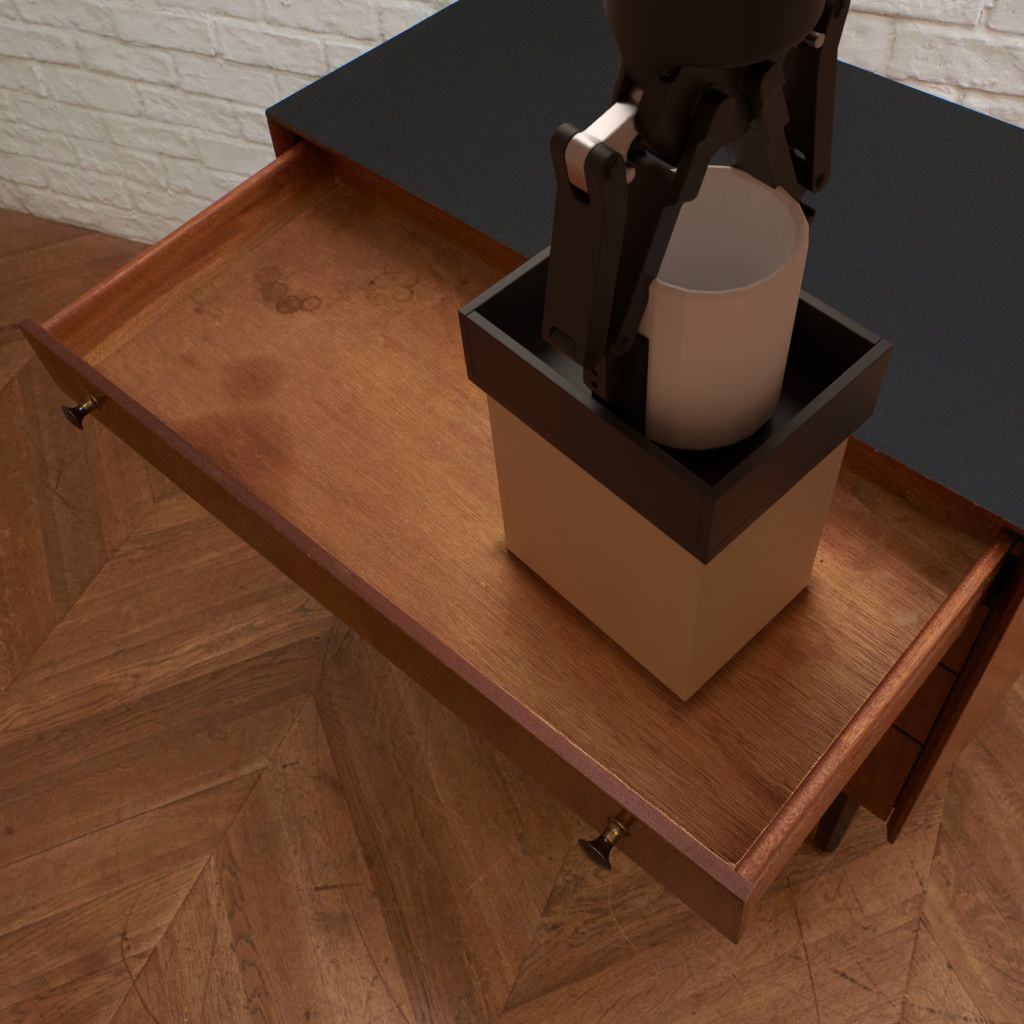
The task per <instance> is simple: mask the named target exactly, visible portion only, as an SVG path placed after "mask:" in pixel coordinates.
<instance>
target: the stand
mask: <svg viewBox="0 0 1024 1024" xmlns="http://www.w3.org/2000/svg"><path fill="white" fill-rule="evenodd" d="M485 394H486V393H485ZM486 402H487V410H488V416H489V417H488V418H489V424H490V431H491V438H492V439H491V440H492V447H493V455H494V462H495V463H494V464H495V470H496V476H497V477H496V478H497V485H498V494H499V499H500V505H501V506H500V507H501V514H502V522H503V531H504V537H505V546H506V549H507V550H509V551H510V552H511V553H512V554H513V555H514V556H515V557H517V558H518V559H519V560H520V561H521V562H523V563H524V564H525V565H526V566H527V567H528V568H529V569H530V570H532V571H533V572H534V573H535V574H536V575H538V577H540V578H541V579H542V580H543V581H544V582H545V583H547V584H548V585H549V586H550V587H551V588H552V589H553V590H555V592H557V593H558V594H559V595H560V596H561V597H563V598H564V599H565V600H566V601H568V603H569V604H571V605H572V606H573V607H575V608H576V609H577V610H578V611H579V612H580V613H582V615H584V616H585V617H586V618H587V619H588V620H589V621H591V622H592V623H593V624H594V625H595V626H597V628H598V629H600V630H601V631H602V632H603V633H605V635H607V636H608V637H609V638H610V639H611V640H612V641H614V642H615V643H616V644H617V645H618V646H620V647H621V648H622V649H623V650H624V651H625V652H626V653H628V654H629V655H630V656H631V657H632V659H635V661H636V662H638V663H639V664H640V665H641V666H643V667H644V668H645V669H646V670H647V671H648V672H650V673H651V674H652V676H654V677H655V678H656V679H657V680H659V681H660V682H661V683H662V684H663V685H665V687H667V688H668V689H669V690H670V691H671V692H672V693H674V694H675V695H676V696H677V697H678V698H679V699H680V700H682V701H683V702H684V703H685V702H687V701H688V700H690V698H691V697H692V696H693V695H694V694H695V693H696V692H697V691H699V689H700V688H702V687H703V686H704V685H705V684H706V683H707V682H708V681H709V680H710V679H711V678H712V677H713V676H714V675H715V674H716V673H717V672H718V671H719V670H720V669H721V668H722V667H723V666H725V665H726V663H728V662H729V661H730V660H731V659H732V658H733V657H734V656H735V655H736V654H737V653H738V652H739V651H741V650H742V648H743V647H744V646H746V645H747V644H748V643H749V642H750V641H751V640H752V639H753V638H754V637H756V635H757V634H758V633H759V632H760V631H761V630H762V629H763V628H764V627H765V626H767V625H768V624H769V622H771V621H772V620H773V619H774V618H775V617H776V616H777V615H778V614H779V613H780V612H781V611H782V610H783V609H784V608H785V607H786V606H788V604H790V603H791V602H792V601H793V600H794V599H795V598H796V597H797V596H798V595H799V594H800V593H801V592H802V591H803V590H804V589H806V587H807V586H808V585H809V582H810V578H811V574H812V571H813V568H814V563H815V559H816V556H817V554H818V550H819V546H820V542H821V538H822V535H823V532H824V527H825V525H826V520H827V517H828V514H829V510H830V506H831V504H832V503H831V502H832V499H833V495H834V492H835V488H836V484H837V480H838V477H839V474H840V470H841V467H842V463H843V459H844V455H845V452H846V449H847V445H848V441H849V438H850V436H849V437H848V438H847V439H845V440H844V441H843V442H842V443H841V444H840V445H839V446H838V447H837V448H836V449H834V450H833V451H832V452H831V453H830V454H829V455H828V456H827V457H826V458H824V459H823V460H822V461H821V462H820V463H819V464H818V465H817V466H816V467H814V468H813V469H812V470H811V471H810V472H809V473H808V474H807V475H806V476H805V477H803V478H802V479H801V480H800V481H799V482H798V483H797V484H796V485H795V486H793V487H792V488H791V489H790V490H789V491H788V492H787V493H786V494H785V495H783V496H782V497H781V498H780V499H779V500H778V501H777V502H776V503H775V504H773V505H772V506H771V507H770V508H769V509H768V510H767V511H766V512H765V513H764V514H762V515H761V516H760V517H759V518H758V519H757V520H756V521H755V522H754V523H752V524H751V525H750V526H749V527H748V528H747V529H746V530H745V531H744V532H742V533H741V534H740V535H739V536H738V537H737V538H736V539H735V540H734V541H733V542H731V543H730V544H729V545H728V546H727V547H726V548H725V549H724V550H723V551H721V552H720V553H719V554H718V555H717V556H716V557H715V558H714V559H713V560H711V561H710V562H709V563H708V564H707V565H704V564H703V563H701V562H700V561H699V560H698V559H696V558H695V557H694V556H693V555H691V554H690V553H689V552H687V551H686V550H685V549H684V548H682V547H681V546H680V545H679V544H677V543H676V542H675V541H673V540H672V539H671V538H670V537H668V536H667V535H666V534H665V533H663V532H662V531H661V530H659V529H658V528H657V527H656V526H654V525H653V524H652V523H651V522H649V521H648V520H647V519H645V518H644V517H643V516H642V515H640V514H639V513H638V512H637V511H635V510H634V509H633V508H631V507H630V506H629V505H628V504H626V503H625V502H624V501H623V500H621V499H620V498H619V497H617V496H616V495H615V494H614V493H612V492H611V491H610V490H609V489H607V488H606V487H605V486H603V485H602V484H601V483H600V482H598V481H597V480H596V479H595V478H593V477H592V476H591V475H589V474H588V473H587V472H586V471H584V470H583V469H582V468H581V467H579V466H578V465H577V464H575V463H574V462H573V461H572V460H570V459H569V458H568V457H567V456H565V455H564V454H563V453H561V452H560V451H559V450H558V449H556V448H555V447H554V446H553V445H551V444H550V443H549V442H548V441H546V440H545V439H544V438H542V437H541V436H540V435H539V434H537V433H536V432H535V431H534V430H532V429H531V428H530V427H528V426H527V425H526V424H525V423H523V422H522V421H521V420H520V419H518V418H517V417H516V416H514V415H513V414H512V413H511V412H509V411H508V410H507V409H506V408H504V407H503V406H502V405H500V404H499V403H498V402H497V401H495V400H494V399H493V398H492V397H490V396H489V395H488V394H486Z"/></svg>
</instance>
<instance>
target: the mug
mask: <svg viewBox="0 0 1024 1024" xmlns="http://www.w3.org/2000/svg"><path fill="white" fill-rule="evenodd" d="M670 170H671V171H673V172H675V173H676V170H677V168H671V169H670ZM809 231H810V227H809V224H808V222H807V220H806V217H805V215H804V213H803V211H802V209H801V207H800V205H799V203H798V202H796V201H795V200H794V199H793V198H792V197H791V196H790V195H789V194H788V193H787V192H786V191H785V190H784V189H783V188H782V187H781V186H779V185H778V186H777V187H776V189H773V188H771V187H769V186H768V185H766V184H764V183H763V182H761V181H759V180H757V179H756V178H754V177H752V176H751V175H750V174H748V173H746V172H745V171H743V170H741V169H737V168H733V167H731V166H729V165H711V164H709V165H708V168H707V171H706V174H705V176H704V179H703V182H702V185H701V188H700V190H699V193H698V195H697V197H696V199H694V200H693V201H691V202H686V203H684V204H683V205H682V207H681V210H680V213H679V215H678V218H677V221H676V224H675V227H674V230H673V232H672V235H671V238H670V241H669V244H668V247H667V249H666V252H665V255H664V258H663V261H662V264H661V266H660V269H659V272H658V275H657V278H656V279H654V280H653V281H652V283H651V285H650V286H649V301H648V303H647V306H646V309H645V312H644V315H643V318H642V320H641V323H640V326H639V329H638V333H640V334H641V335H643V336H644V337H646V338H647V339H648V340H649V354H648V376H647V399H646V421H645V437H646V438H647V439H648V440H651V441H654V442H656V443H659V444H662V445H665V446H668V447H671V448H674V449H686V450H699V451H703V450H709V449H715V448H721V447H727V446H730V445H732V444H734V443H736V442H738V441H741V440H743V439H745V438H747V437H749V436H751V435H752V434H753V433H755V432H756V431H757V430H758V429H759V428H760V427H761V426H762V425H763V424H764V423H765V422H766V421H767V420H768V419H770V417H771V415H772V413H773V411H774V409H775V407H776V405H777V403H778V401H779V398H780V393H781V388H782V383H783V377H784V372H785V367H786V362H787V356H788V351H789V346H790V341H791V335H792V330H793V325H794V320H795V314H796V309H797V304H798V299H799V293H800V288H801V289H802V284H803V283H802V282H803V277H804V272H805V267H806V261H807V257H808V250H809V245H810V244H809V243H810V238H809V235H810V232H809Z"/></svg>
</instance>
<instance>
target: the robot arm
mask: <svg viewBox="0 0 1024 1024" xmlns="http://www.w3.org/2000/svg"><path fill="white" fill-rule="evenodd" d="M851 1H852V0H602V6H603V11H604V15H605V18H606V20H607V22H608V24H609V26H610V29H611V31H612V34H613V36H614V39H615V42H616V44H617V47H618V50H619V55H620V60H619V64H618V70H617V73H616V76H615V79H614V82H613V86H612V88H611V92H610V99H609V103H610V108H609V109H607V110H606V111H605V112H604V113H603V114H601V116H599V118H597V119H596V120H595V121H594V122H592V124H590V125H589V126H588V127H587V128H586V129H585V130H582V129H580V128H579V127H578V126H575V125H573V124H572V123H570V122H564V123H562V124H561V125H558V127H557V128H556V129H555V130H554V131H553V134H552V136H551V137H550V141H549V152H550V157H551V163H552V166H553V171H554V175H555V179H556V180H555V181H556V193H555V202H554V211H553V220H552V221H553V222H552V229H551V238H550V239H551V240H550V245H551V248H550V257H549V267H548V276H547V286H546V295H545V305H544V314H543V324H542V337H543V339H544V340H546V341H547V342H548V343H550V344H551V345H553V346H554V347H555V348H557V349H558V350H559V351H561V352H562V353H564V354H565V355H566V356H568V357H569V358H570V359H572V360H573V361H575V362H576V363H577V364H579V365H580V366H581V367H583V382H584V384H585V385H586V386H587V387H588V388H589V389H591V397H592V398H593V399H594V400H596V401H597V402H598V403H600V404H601V405H602V406H604V407H605V408H606V409H608V410H609V411H611V412H612V413H613V414H615V415H616V416H617V417H619V418H620V419H621V420H623V421H624V422H625V423H627V424H628V425H629V426H631V427H632V428H633V429H635V430H636V431H637V432H639V433H640V434H642V435H643V436H644V437H645V421H646V399H647V376H648V354H649V340H648V339H647V338H646V337H644V336H643V335H641V334H640V333H638V329H639V326H640V323H641V320H642V318H643V315H644V312H645V309H646V306H647V303H648V301H649V286H650V285H651V283H652V281H653V280H654V279H656V278H657V275H658V272H659V269H660V266H661V264H662V261H663V258H664V255H665V252H666V249H667V247H668V244H669V241H670V238H671V235H672V232H673V230H674V227H675V224H676V221H677V218H678V215H679V213H680V210H681V207H682V205H683V204H684V203H686V202H691V201H693V200H694V199H696V197H697V195H698V193H699V190H700V188H701V185H702V182H703V179H704V176H705V174H706V171H707V168H708V165H710V162H711V160H712V157H714V155H716V153H718V151H720V149H721V148H723V147H724V149H725V152H726V154H727V158H728V161H729V164H730V167H733V168H737V169H741V170H743V171H745V172H746V173H748V174H750V175H751V176H752V177H754V178H756V179H757V180H759V181H761V182H763V183H764V184H766V185H768V186H769V187H771V188H773V189H776V187H777V186H778V185H779V186H781V187H782V188H783V189H784V190H785V191H786V192H787V193H788V194H789V195H790V196H791V197H792V198H793V199H794V200H795V201H796V202H798V203H799V205H800V207H801V209H802V211H803V213H804V215H805V217H806V220H807V222H808V224H809V228H810V227H811V226H812V225H813V222H814V221H815V219H816V215H817V209H815V208H812V207H811V206H809V205H807V204H806V203H804V202H803V199H802V198H803V197H804V196H805V194H806V193H807V192H808V191H809V192H810V193H812V194H814V195H816V194H818V193H820V192H821V191H823V189H824V188H825V187H826V186H827V184H828V183H829V179H830V176H831V170H832V169H831V168H832V150H833V149H832V148H833V136H834V122H835V121H834V118H835V103H836V88H837V74H838V73H837V72H838V71H837V69H838V55H839V46H840V43H841V39H842V35H843V32H844V28H845V26H846V25H845V24H846V20H847V17H848V14H849V10H850V7H851V3H852V2H851ZM647 153H648V154H650V155H652V156H653V157H655V158H656V159H659V160H660V161H662V162H663V163H665V164H667V165H669V166H670V167H673V168H675V169H677V170H676V173H675V172H673V171H671V169H670V168H668V167H666V166H665V165H663V164H661V163H660V162H658V161H656V160H654V159H653V158H651V157H650V156H649V155H648V154H647Z"/></svg>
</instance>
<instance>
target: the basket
mask: <svg viewBox="0 0 1024 1024" xmlns="http://www.w3.org/2000/svg"><path fill="white" fill-rule="evenodd" d="M550 248H551V244H549V245H548V246H547V247H546V248H544V249H542V250H540V251H539V252H538V253H537V254H535V255H534V256H533V257H531V258H530V259H528V260H527V261H525V262H524V263H523V264H521V265H519V266H518V267H517V268H516V269H514V270H512V271H511V272H510V273H508V274H506V275H505V276H504V277H503V278H501V279H500V280H498V281H497V282H496V283H494V284H493V285H491V286H490V287H488V288H487V289H486V290H484V291H483V292H481V293H480V294H478V295H477V296H476V297H474V298H473V299H471V300H470V301H469V302H468V303H466V304H465V305H463V306H462V307H460V308H459V309H458V310H457V316H458V323H459V330H460V336H461V342H462V350H463V356H464V363H465V366H466V377H467V380H468V381H470V382H471V383H473V385H475V386H476V387H477V388H479V389H480V390H481V391H483V392H484V393H485V394H488V395H489V396H490V397H492V398H493V399H494V400H495V401H497V402H498V403H499V404H500V405H502V406H503V407H504V408H506V409H507V410H508V411H509V412H511V413H512V414H513V415H514V416H516V417H517V418H518V419H520V420H521V421H522V422H523V423H525V424H526V425H527V426H528V427H530V428H531V429H532V430H534V431H535V432H536V433H537V434H539V435H540V436H541V437H542V438H544V439H545V440H546V441H548V442H549V443H550V444H551V445H553V446H554V447H555V448H556V449H558V450H559V451H560V452H561V453H563V454H564V455H565V456H567V457H568V458H569V459H570V460H572V461H573V462H574V463H575V464H577V465H578V466H579V467H581V468H582V469H583V470H584V471H586V472H587V473H588V474H589V475H591V476H592V477H593V478H595V479H596V480H597V481H598V482H600V483H601V484H602V485H603V486H605V487H606V488H607V489H609V490H610V491H611V492H612V493H614V494H615V495H616V496H617V497H619V498H620V499H621V500H623V501H624V502H625V503H626V504H628V505H629V506H630V507H631V508H633V509H634V510H635V511H637V512H638V513H639V514H640V515H642V516H643V517H644V518H645V519H647V520H648V521H649V522H651V523H652V524H653V525H654V526H656V527H657V528H658V529H659V530H661V531H662V532H663V533H665V534H666V535H667V536H668V537H670V538H671V539H672V540H673V541H675V542H676V543H677V544H679V545H680V546H681V547H682V548H684V549H685V550H686V551H687V552H689V553H690V554H691V555H693V556H694V557H695V558H696V559H698V560H699V561H700V562H701V563H703V564H704V565H707V564H708V563H709V562H710V561H711V560H713V559H714V558H715V557H716V556H717V555H718V554H719V553H720V552H721V551H723V550H724V549H725V548H726V547H727V546H728V545H729V544H730V543H731V542H733V541H734V540H735V539H736V538H737V537H738V536H739V535H740V534H741V533H742V532H744V531H745V530H746V529H747V528H748V527H749V526H750V525H751V524H752V523H754V522H755V521H756V520H757V519H758V518H759V517H760V516H761V515H762V514H764V513H765V512H766V511H767V510H768V509H769V508H770V507H771V506H772V505H773V504H775V503H776V502H777V501H778V500H779V499H780V498H781V497H782V496H783V495H785V494H786V493H787V492H788V491H789V490H790V489H791V488H792V487H793V486H795V485H796V484H797V483H798V482H799V481H800V480H801V479H802V478H803V477H805V476H806V475H807V474H808V473H809V472H810V471H811V470H812V469H813V468H814V467H816V466H817V465H818V464H819V463H820V462H821V461H822V460H823V459H824V458H826V457H827V456H828V455H829V454H830V453H831V452H832V451H833V450H834V449H836V448H837V447H838V446H839V445H840V444H841V443H842V442H843V441H844V440H845V439H847V438H848V437H849V438H850V436H851V435H852V434H854V432H856V431H857V430H858V428H860V427H861V426H862V425H863V424H865V422H867V421H868V420H869V419H870V418H871V417H873V414H874V411H875V408H876V405H877V402H878V400H879V395H880V393H881V389H882V385H883V383H884V378H885V375H886V373H887V369H888V366H889V362H890V359H891V355H892V352H893V349H894V344H893V343H891V342H889V341H888V340H886V339H885V338H882V336H879V335H878V334H876V333H874V332H873V331H871V330H869V329H868V328H867V327H865V326H863V325H861V324H859V323H858V322H856V321H855V320H853V319H852V318H850V317H848V316H846V315H845V314H843V313H842V312H840V311H838V310H836V309H835V308H834V307H832V306H830V305H829V304H827V303H825V302H824V301H822V300H820V299H819V298H817V297H815V296H814V295H813V294H810V293H809V292H807V291H806V290H803V289H802V287H801V288H800V293H799V299H798V304H797V309H796V314H795V320H794V325H793V330H792V335H791V341H790V346H789V351H788V356H787V362H786V367H785V372H784V377H783V383H782V388H781V393H780V398H779V401H778V403H777V405H776V407H775V409H774V411H773V413H772V415H771V417H770V419H768V420H767V421H766V422H765V423H764V424H763V425H762V426H761V427H760V428H759V429H758V430H757V431H756V432H755V433H753V434H752V435H751V436H749V437H747V438H745V439H743V440H741V441H738V442H736V443H734V444H732V445H730V446H727V447H721V448H715V449H709V450H703V451H699V450H686V449H674V448H671V447H668V446H665V445H662V444H659V443H656V442H654V441H651V440H648V439H647V438H646V437H644V436H643V435H642V434H640V433H639V432H637V431H636V430H635V429H633V428H632V427H631V426H629V425H628V424H627V423H625V422H624V421H623V420H621V419H620V418H619V417H617V416H616V415H615V414H613V413H612V412H611V411H609V410H608V409H606V408H605V407H604V406H602V405H601V404H600V403H598V402H597V401H596V400H594V399H593V398H592V397H591V389H589V388H588V387H587V386H586V385H585V384H584V382H583V367H581V366H580V365H579V364H577V363H576V362H575V361H573V360H572V359H570V358H569V357H568V356H566V355H565V354H564V353H562V352H561V351H559V350H558V349H557V348H555V347H554V346H553V345H551V344H550V343H548V342H547V341H546V340H544V339H543V337H542V324H543V314H544V305H545V295H546V286H547V276H548V267H549V257H550ZM849 438H848V439H849Z"/></svg>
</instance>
